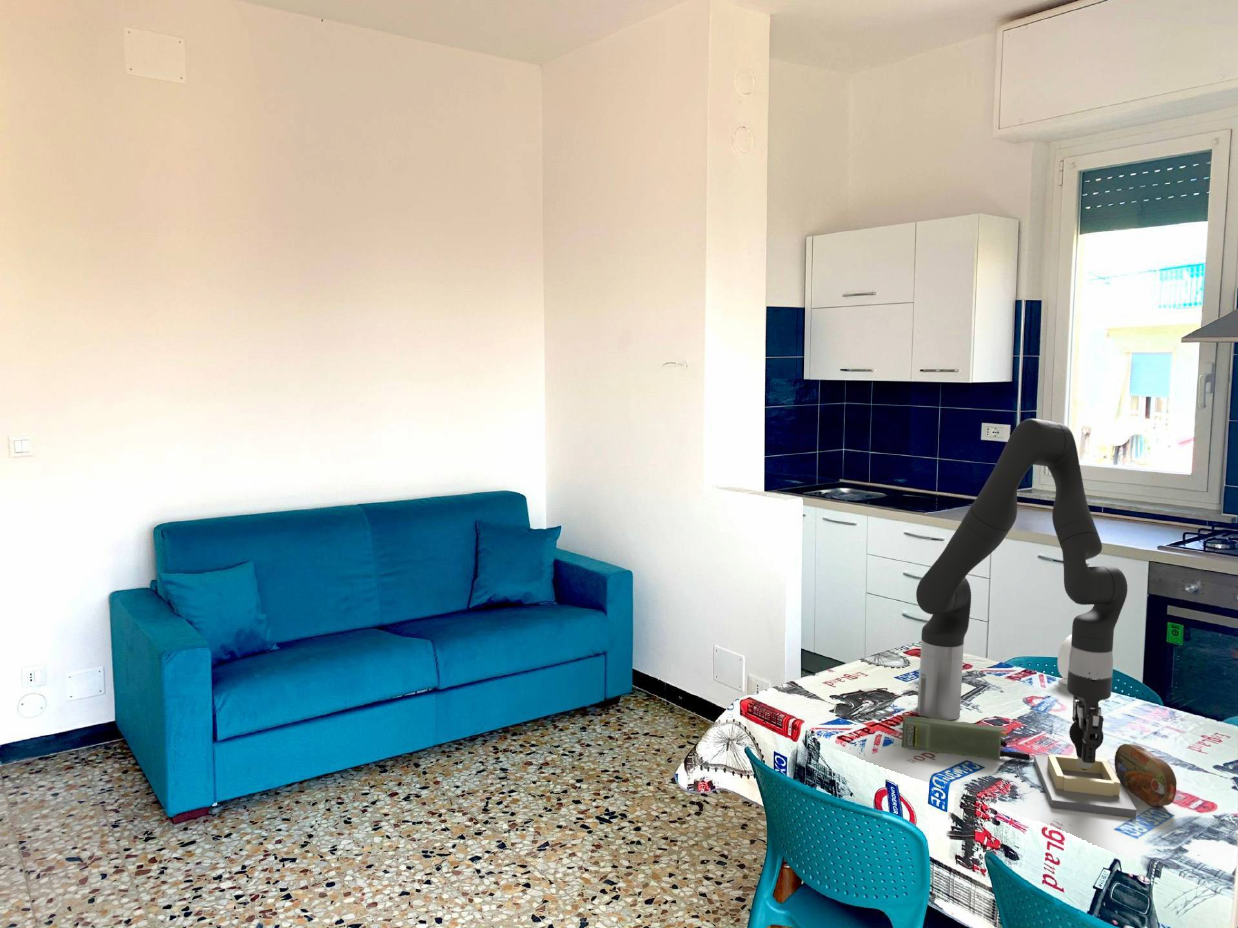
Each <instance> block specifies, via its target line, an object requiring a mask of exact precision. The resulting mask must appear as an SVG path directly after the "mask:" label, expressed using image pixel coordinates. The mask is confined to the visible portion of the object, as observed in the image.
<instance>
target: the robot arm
mask: <svg viewBox="0 0 1238 928" xmlns="http://www.w3.org/2000/svg"><path fill="white" fill-rule="evenodd" d="M1076 444H1077V443H1076V440H1075V436H1074V435H1073V432H1072V430H1071V429H1070V428H1069V427H1068V426H1067V425H1065V424H1063V423H1060V422H1057V421H1056V422H1054V421H1051V420H1045V419H1044V420H1043V419H1038V418H1027V419H1024V420H1023V421H1021V422H1020V423H1018V425H1016V426H1015V428H1014V430H1013V431H1012V432H1011V434H1010V436H1009V438H1008V440H1007V442H1006V444H1005V446H1004V448H1003V450H1002V452H1001V454H1000V455H999V458H998V460H997V462H996V465H995V466H994V468H993V470H992V472H991V473H990V475H989V477H988V478H987V480H986V482H985V484H984V486H983V487H982V489H981V490H980V492H979V494H978V495H977V497H976V498H975V500H974V501H973V502H972V504H971V505H970V507H969V508H968V510H967V511H966V513H965V515H964V516H963V519H962V520H961V522H960V524H959V525H958V528H957V529H956V530H955V532H954V534H953V535H952V536H951V538H950V539H949V541H948V543H947V544H946V547H944V549H943V551H942V552H941V554H940V555H939V556H938V558H937V559H936V560H935V562H934V563H933V564H932V565H931V567H930V568H929V569H928V570H927V571H926V573H925V574H923V576H922V577H921V579H920V580H919V582H918V584H917V587H916V593H915V596H916V602H917V605H918V606H919V608H920V610H922V611H923V612H924V613H926V614H928V615H932V616H931V617H930V618H929V620H928V621H927V622H926V623H925V624H924V625H923V626H922V629H921V639H920V641H921V643H920V661H919V669H918V686H917V687H918V688H917V690H918V691H917V704H916V705H917V713H918V716H920V717H921V716H922V717H925V718H930V719H938V720H947V721H953V720H956V719H958V718H959V717H960V716H961V708H962V707H961V704H962V703H961V700H962V685H963V684H962V682H963V666H964V665H963V662H964V647H965V644H964V643H965V642H964V641H965V636H966V634H967V633H968V629H969V626H970V625H969V624H970V615H971V608H972V607H971V606H972V603H971V602H972V590H971V585H970V583H969V581H968V579H967V577H966V576H967V575H969V573H970V572H971V571H973V569H974V568H976V567H977V566H978V565H979V564H980V563H981V562H982V561H984V560H985V559H986V558H987V557H988V556H990V555H991V554H992V553H993V552H995V550H996V549H997V548H998V547H999V546H1000V545H1001V543H1002V542H1003V541H1004V540H1005V538H1006V536H1007V535H1008V534H1009V532H1010V531H1011V529H1012V527H1013V526H1014V524H1015V522H1016V520H1017V516H1018V489H1019V486H1020V484H1021V482H1022V480H1023V479H1024V477H1025V475H1026V473H1027V472H1028V470H1030V469H1031V468H1032V466H1033V465H1035V466H1041V467H1042V466H1043V467H1047V468H1048V470H1049V473H1050V474H1051V476H1052V479H1053V482H1054V486H1055V497H1054V502H1053V506H1052V516H1051V519H1052V525H1053V528H1054V532H1055V534H1056V538H1057V540H1058V543H1059V546H1060V548H1061V552H1062V563H1063V564H1062V565H1063V585H1064V590H1065V593H1066V594H1067V596H1068V597H1069V599H1070V600H1071V601H1072V602H1073V603H1075V604H1077V605H1083V606H1087V605H1093V606H1092V608H1091V609H1090V610H1089V611H1088V612H1085V613H1081V614H1078V615H1077V616H1075V617H1074V618H1073V621H1072V626H1071V627H1072V628H1071V634H1072V640H1071V649H1070V653H1069V663H1068V679H1067V685H1066V690H1067V692H1068V693H1069V694H1070V695H1071V696H1073V697H1072V698H1073V699H1072V718H1071V719H1072V722H1073V723H1074V722H1075V721H1077V720H1079V729H1080V730H1081V731H1082V738H1083V739H1082V741H1083V744H1082V761H1083V762H1085V763H1094V762H1095V757H1096V753H1097V749H1096V745H1100V744H1101V735H1102V731H1103V725H1104V724H1103V723H1104V716H1103V715H1102V707H1101V706H1100V705H1099V702H1101V701H1106V700H1109V698H1111V696H1112V685H1113V670H1114V655H1113V650H1114V634H1115V633H1114V632H1115V628H1116V625H1117V623H1118V620H1119V618H1120V616H1121V611H1122V610H1123V608H1124V607H1123V606H1124V604H1125V602H1126V599H1127V594H1128V581H1127V578H1126V576H1125V574H1124V573H1123V571H1122V570H1120V569H1119V568H1118V567H1115V566H1110V565H1108V566H1107V565H1104V566H1088V565H1087V560H1091V559H1093V558H1095V557H1097V556H1098V555H1100V553H1102V550H1103V544H1102V541H1101V538H1100V535H1099V532H1098V530H1097V526H1096V524H1095V521H1094V519H1093V516H1092V514H1091V511H1090V507H1089V504H1088V501H1087V497H1086V493H1085V488H1084V487H1085V486H1084V481H1083V476H1082V470H1081V467H1080V466H1081V465H1080V459H1079V455H1078V449H1077V448H1078V447H1077V445H1076ZM1084 724H1087V725H1086V726H1085V725H1084ZM1090 734H1094V738H1091V737H1090ZM1101 745H1102V744H1101ZM1101 745H1100V746H1101Z"/></svg>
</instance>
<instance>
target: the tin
mask: <svg viewBox="0 0 1238 928" xmlns="http://www.w3.org/2000/svg"><path fill="white" fill-rule="evenodd" d="M1113 761H1114V772H1115V773H1116V775H1117V777H1118V779H1119V780H1120V782H1121V784H1122V785H1123V787H1124V789H1125V788H1126V789H1127V790H1129V792H1131V793H1133V794H1134V795H1135V796H1137V797H1138V798H1139V799H1140V800H1142V801H1144V802H1145V803H1146V804H1148V805H1150V806H1152V807H1157V806H1159V807H1164V806H1170V805H1171V804H1172V803H1173V802H1174V801H1175V798H1176V793H1177V777H1176V775H1175V773H1174V771H1173V768H1172V767H1171V766H1170V765H1169V763H1167V762H1166V761H1164V760H1163V759H1161V758H1160V757H1158V756H1157V755H1155V754H1154V753H1152V752H1150V751H1149V750H1147V749H1145V748H1144V747H1142V746H1141V745H1138V744H1137V745H1136V744H1129V743H1128V744H1127V743H1123V744H1121V745H1119V747H1118V748H1117V749H1116V751H1115V754H1114V760H1113Z"/></svg>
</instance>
